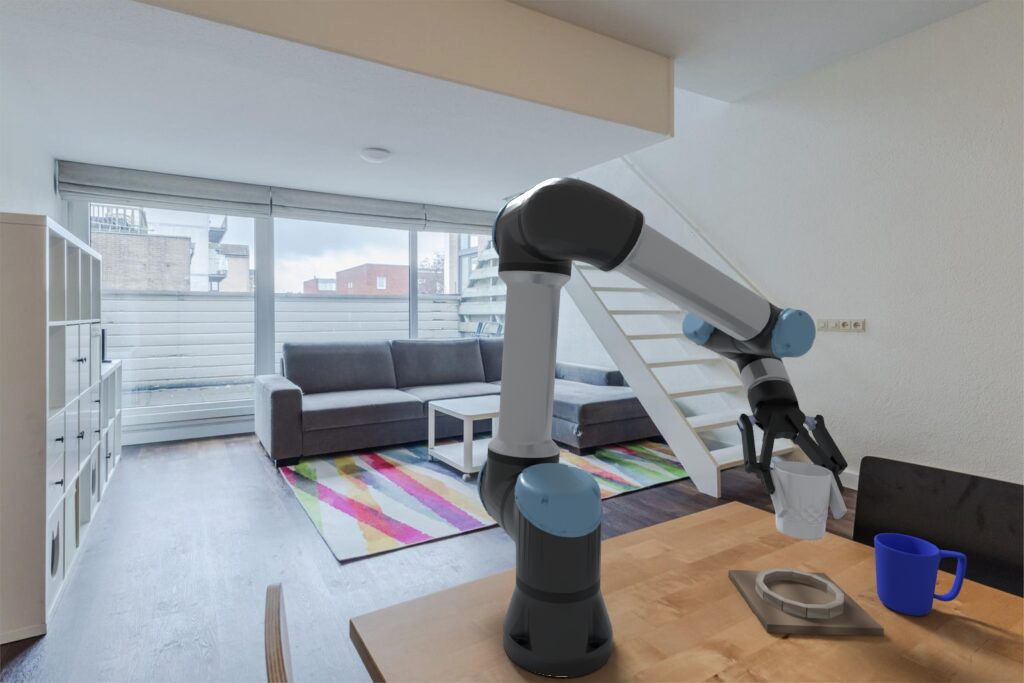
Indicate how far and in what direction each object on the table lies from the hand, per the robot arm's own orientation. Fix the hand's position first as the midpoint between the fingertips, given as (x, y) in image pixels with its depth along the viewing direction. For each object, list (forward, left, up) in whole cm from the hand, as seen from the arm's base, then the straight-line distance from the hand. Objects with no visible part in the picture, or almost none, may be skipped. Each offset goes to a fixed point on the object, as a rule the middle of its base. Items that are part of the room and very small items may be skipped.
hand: (811, 514), depth 79 cm
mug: (+18, +3, -16) cm, 24 cm away
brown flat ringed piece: (0, +3, -16) cm, 16 cm away
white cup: (0, +3, -4) cm, 6 cm away
